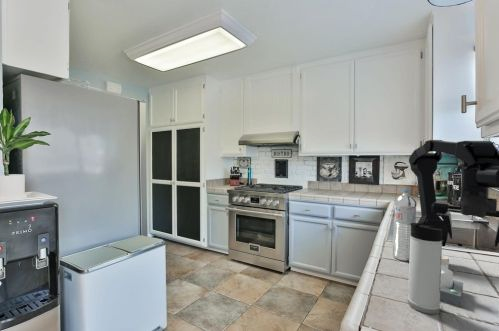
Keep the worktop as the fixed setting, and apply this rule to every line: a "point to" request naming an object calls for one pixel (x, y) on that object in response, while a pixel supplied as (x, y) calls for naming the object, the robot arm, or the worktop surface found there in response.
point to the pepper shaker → (446, 274)
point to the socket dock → (452, 294)
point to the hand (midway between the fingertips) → (472, 242)
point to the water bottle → (403, 225)
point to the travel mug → (425, 268)
